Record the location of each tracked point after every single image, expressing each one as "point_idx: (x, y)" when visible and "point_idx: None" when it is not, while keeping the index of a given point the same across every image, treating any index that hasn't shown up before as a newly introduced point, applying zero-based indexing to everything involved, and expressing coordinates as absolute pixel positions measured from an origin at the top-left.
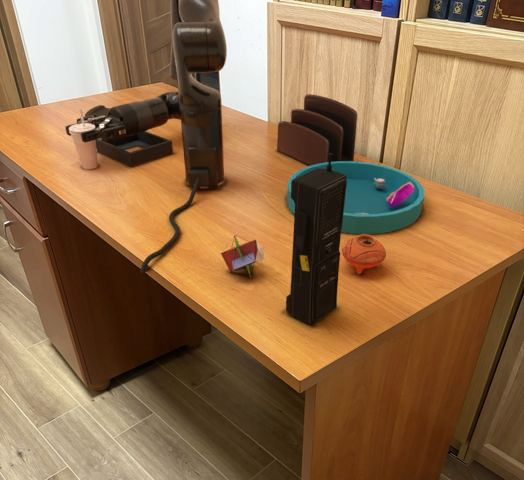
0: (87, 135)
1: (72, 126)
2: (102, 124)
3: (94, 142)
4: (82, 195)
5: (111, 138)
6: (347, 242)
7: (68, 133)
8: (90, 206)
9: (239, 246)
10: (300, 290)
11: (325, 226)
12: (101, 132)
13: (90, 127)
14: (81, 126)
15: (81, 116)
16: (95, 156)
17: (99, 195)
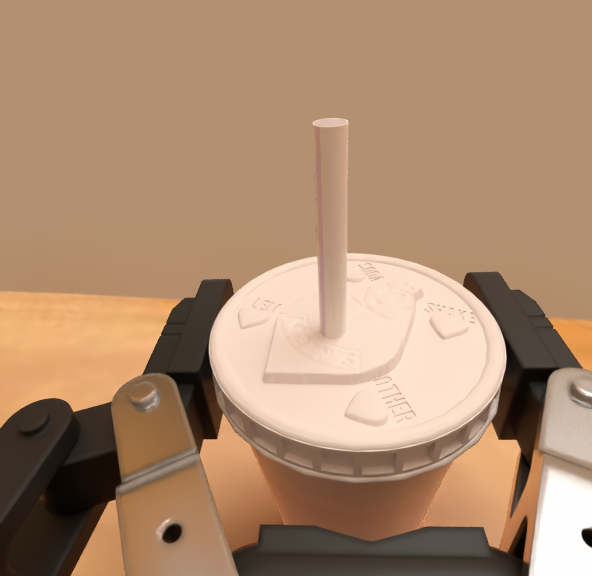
0: (175, 308)
1: (451, 294)
2: (151, 473)
3: (259, 465)
4: (97, 336)
5: (17, 541)
6: None
7: None
8: (13, 318)
9: None
10: None
11: None
12: (87, 410)
13: (268, 366)
14: (355, 316)
15: (322, 219)
16: (283, 523)
17: (25, 371)
